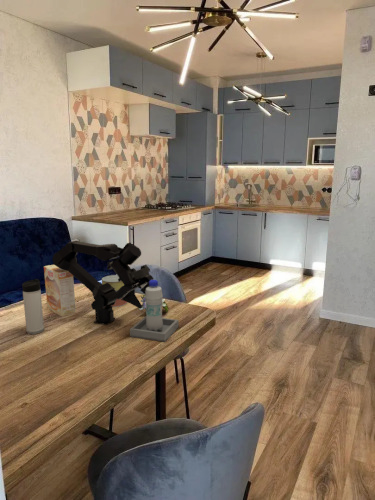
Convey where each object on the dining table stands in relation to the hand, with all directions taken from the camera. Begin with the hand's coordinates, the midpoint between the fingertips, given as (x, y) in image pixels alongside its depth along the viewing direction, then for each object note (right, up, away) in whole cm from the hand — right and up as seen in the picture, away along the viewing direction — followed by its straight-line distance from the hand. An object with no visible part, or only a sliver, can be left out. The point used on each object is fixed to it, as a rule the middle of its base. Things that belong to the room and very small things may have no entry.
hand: (148, 304), depth 144 cm
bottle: (+2, -10, +1) cm, 11 cm away
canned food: (-19, -4, +33) cm, 39 cm away
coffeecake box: (-41, -6, +24) cm, 48 cm away
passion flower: (0, -7, +21) cm, 22 cm away
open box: (+2, -11, +1) cm, 11 cm away
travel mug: (-44, -11, +2) cm, 45 cm away
